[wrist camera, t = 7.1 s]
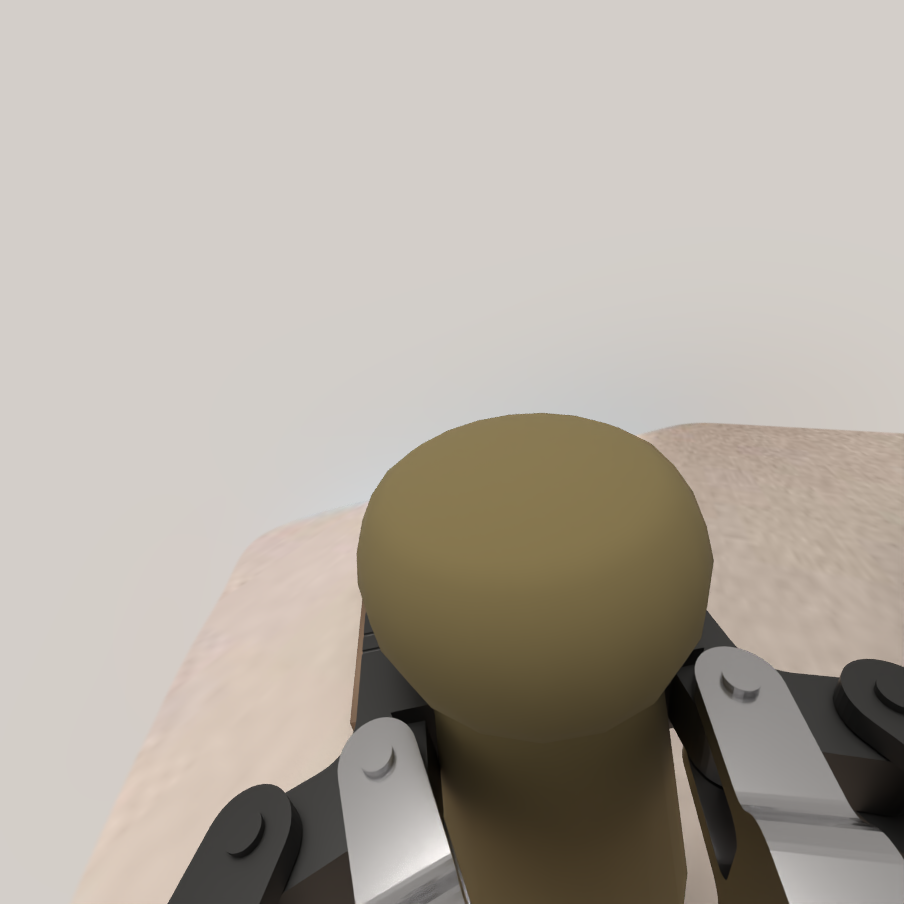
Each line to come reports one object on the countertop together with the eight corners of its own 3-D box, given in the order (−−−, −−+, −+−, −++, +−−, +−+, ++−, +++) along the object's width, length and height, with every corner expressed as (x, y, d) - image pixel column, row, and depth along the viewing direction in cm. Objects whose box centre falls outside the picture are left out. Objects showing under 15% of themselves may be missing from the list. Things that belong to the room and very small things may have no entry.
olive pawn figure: (519, 671, 15) (475, 365, 10) (718, 792, 11) (813, 397, 6) (393, 849, 11) (214, 507, 6) (625, 1119, 8) (663, 818, 2)
